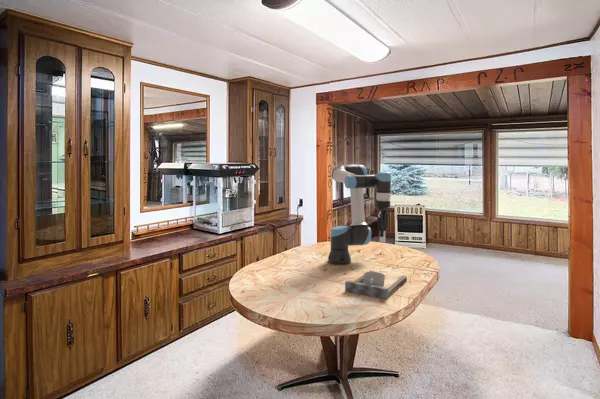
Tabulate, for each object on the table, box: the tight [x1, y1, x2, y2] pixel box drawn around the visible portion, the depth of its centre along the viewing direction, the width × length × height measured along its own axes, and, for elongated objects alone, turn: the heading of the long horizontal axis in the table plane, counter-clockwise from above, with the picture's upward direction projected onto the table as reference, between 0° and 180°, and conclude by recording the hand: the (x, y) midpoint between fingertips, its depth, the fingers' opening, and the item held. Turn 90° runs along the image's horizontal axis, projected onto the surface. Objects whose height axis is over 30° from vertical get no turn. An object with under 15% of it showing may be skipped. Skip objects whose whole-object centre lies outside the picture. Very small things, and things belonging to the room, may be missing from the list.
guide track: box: [344, 270, 408, 300], centre depth 195 cm, size 22×32×5 cm
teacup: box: [363, 270, 386, 287], centre depth 189 cm, size 14×11×8 cm
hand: (382, 242), depth 205 cm, fingers closed
